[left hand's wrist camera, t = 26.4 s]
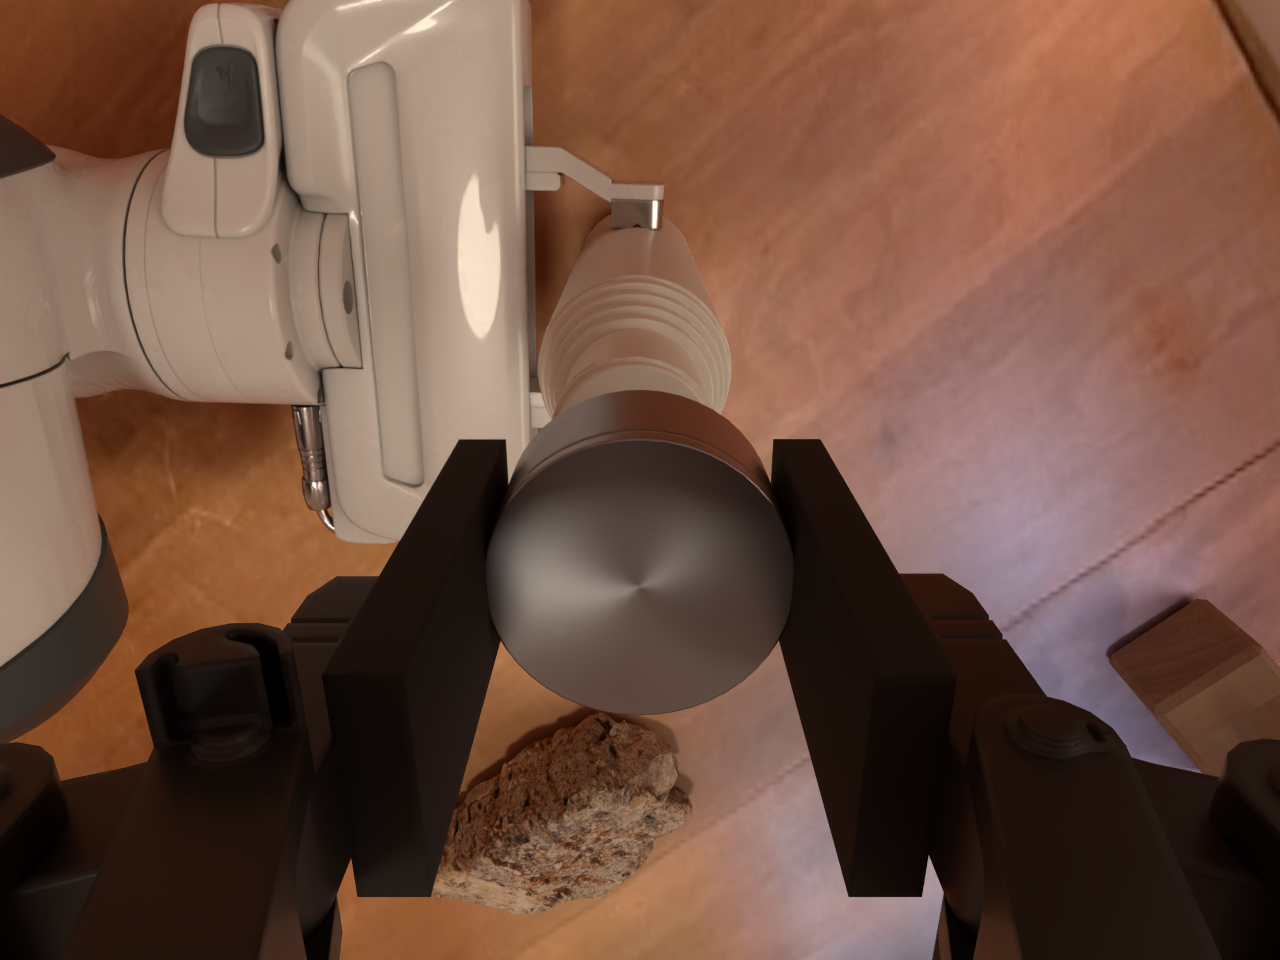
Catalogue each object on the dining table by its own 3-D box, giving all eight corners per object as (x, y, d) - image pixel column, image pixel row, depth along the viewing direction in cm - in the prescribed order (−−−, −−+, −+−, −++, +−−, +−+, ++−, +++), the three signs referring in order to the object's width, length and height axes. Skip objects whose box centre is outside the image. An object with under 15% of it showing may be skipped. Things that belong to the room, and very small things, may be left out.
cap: (566, 343, 13) (552, 386, 11) (820, 453, 14) (854, 514, 12) (469, 576, 15) (438, 654, 13) (702, 665, 15) (712, 754, 13)
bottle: (669, 190, 36) (713, 281, 16) (706, 300, 38) (788, 509, 17) (562, 232, 37) (469, 371, 16) (603, 337, 38) (565, 582, 18)
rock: (592, 675, 45) (587, 749, 40) (729, 784, 48) (741, 867, 42) (409, 838, 49) (382, 925, 44) (545, 930, 52) (535, 1022, 46)
